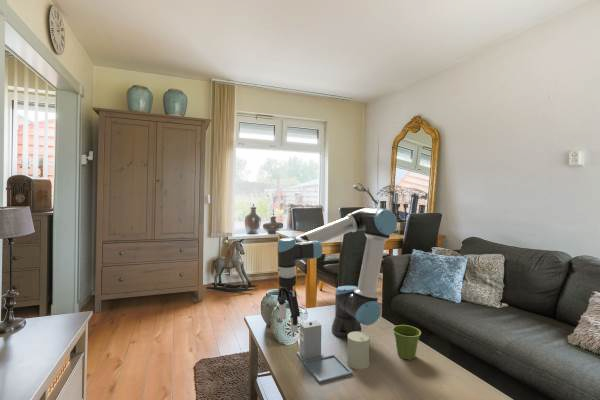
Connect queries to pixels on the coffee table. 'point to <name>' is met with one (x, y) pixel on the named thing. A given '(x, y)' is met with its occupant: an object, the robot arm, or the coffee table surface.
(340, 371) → the tray
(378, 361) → the coffee table surface
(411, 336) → the plant pot
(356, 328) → the robot arm
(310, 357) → the box
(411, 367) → the coffee table surface
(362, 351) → the can
